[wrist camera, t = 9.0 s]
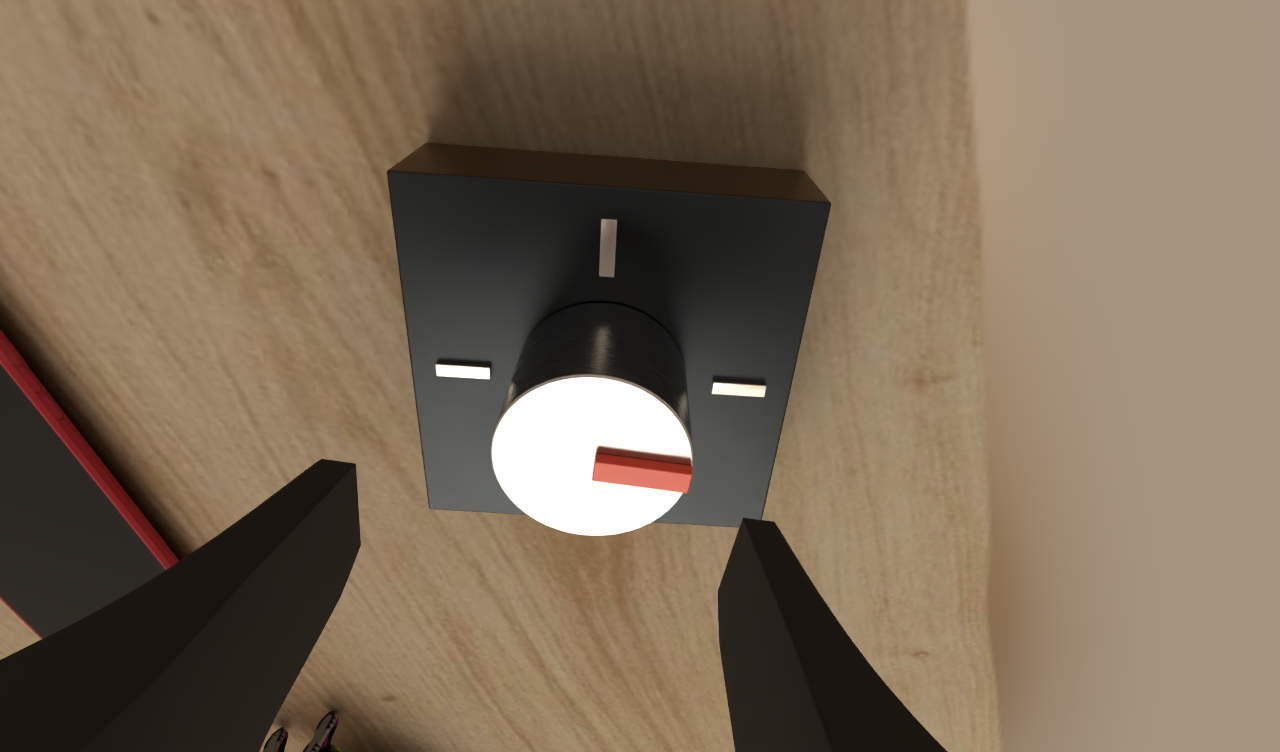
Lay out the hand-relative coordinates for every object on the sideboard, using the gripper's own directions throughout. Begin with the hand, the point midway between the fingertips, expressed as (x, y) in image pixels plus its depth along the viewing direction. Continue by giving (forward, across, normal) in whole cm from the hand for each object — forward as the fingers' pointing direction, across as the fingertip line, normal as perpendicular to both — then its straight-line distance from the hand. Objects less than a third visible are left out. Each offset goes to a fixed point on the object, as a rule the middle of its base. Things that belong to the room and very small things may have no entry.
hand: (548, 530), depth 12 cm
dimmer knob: (+6, -1, 0) cm, 6 cm away
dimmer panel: (+9, -1, 0) cm, 9 cm away
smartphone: (+9, +18, +10) cm, 23 cm away
